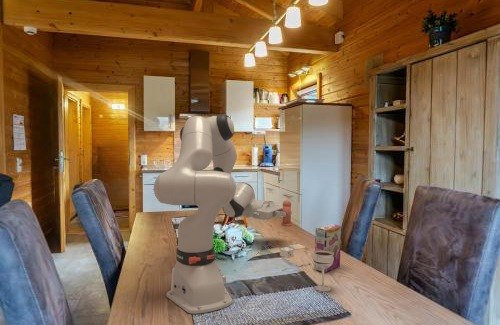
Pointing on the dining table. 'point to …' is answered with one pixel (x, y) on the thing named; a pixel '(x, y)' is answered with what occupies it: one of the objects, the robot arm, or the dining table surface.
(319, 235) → the candy bar box
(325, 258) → the wineglass
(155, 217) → the dining table surface
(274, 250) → the track board
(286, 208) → the pawn
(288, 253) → the die
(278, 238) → the dining table surface
